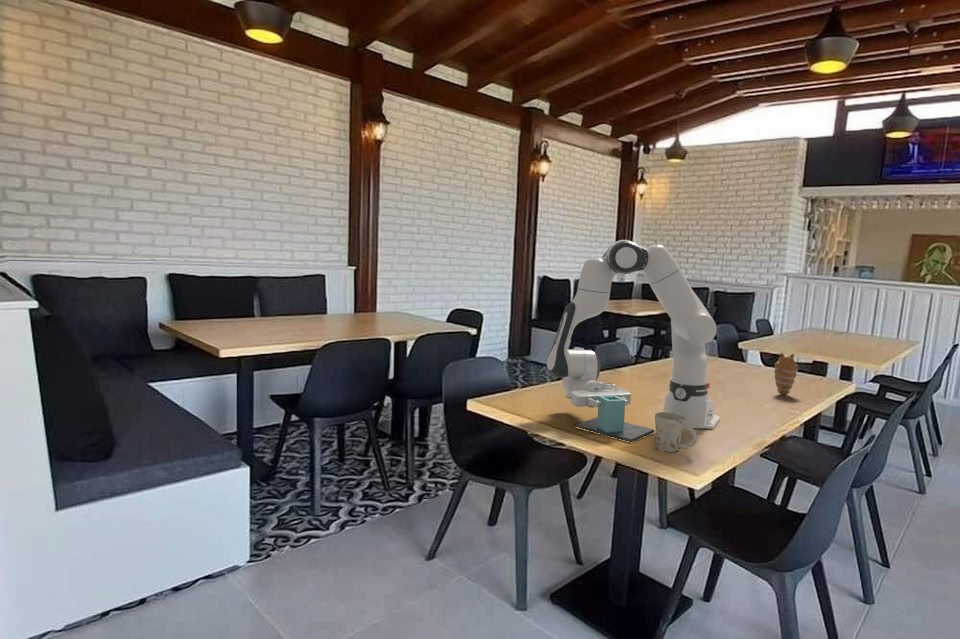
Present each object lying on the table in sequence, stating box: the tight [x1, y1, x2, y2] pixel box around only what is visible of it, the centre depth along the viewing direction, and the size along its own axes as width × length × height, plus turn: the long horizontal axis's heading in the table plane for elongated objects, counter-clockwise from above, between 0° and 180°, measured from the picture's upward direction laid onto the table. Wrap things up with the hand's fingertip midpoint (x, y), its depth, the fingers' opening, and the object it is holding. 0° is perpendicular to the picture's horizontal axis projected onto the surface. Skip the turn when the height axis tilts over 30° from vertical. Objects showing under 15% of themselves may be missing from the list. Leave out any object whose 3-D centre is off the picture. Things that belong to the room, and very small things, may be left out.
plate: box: [574, 416, 655, 443], centre depth 187 cm, size 15×20×6 cm
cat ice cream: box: [774, 352, 799, 396], centre depth 245 cm, size 9×8×18 cm
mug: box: [654, 411, 698, 453], centre depth 169 cm, size 8×13×10 cm, turn 51°
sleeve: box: [597, 396, 626, 432], centre depth 185 cm, size 6×6×10 cm
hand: (612, 404), depth 183 cm, fingers open, 8 cm apart
